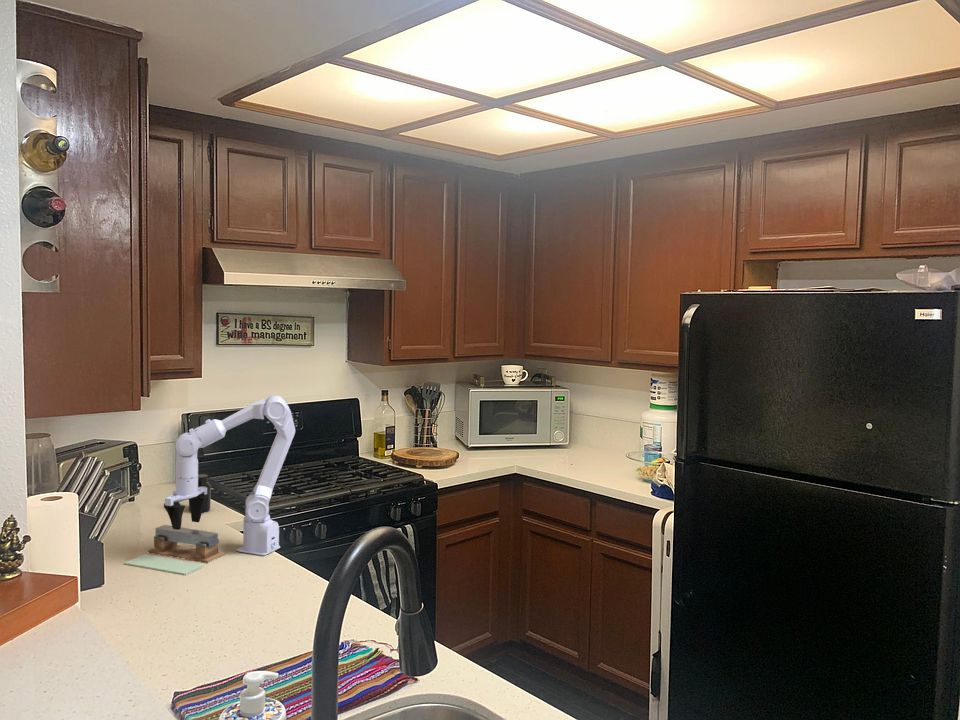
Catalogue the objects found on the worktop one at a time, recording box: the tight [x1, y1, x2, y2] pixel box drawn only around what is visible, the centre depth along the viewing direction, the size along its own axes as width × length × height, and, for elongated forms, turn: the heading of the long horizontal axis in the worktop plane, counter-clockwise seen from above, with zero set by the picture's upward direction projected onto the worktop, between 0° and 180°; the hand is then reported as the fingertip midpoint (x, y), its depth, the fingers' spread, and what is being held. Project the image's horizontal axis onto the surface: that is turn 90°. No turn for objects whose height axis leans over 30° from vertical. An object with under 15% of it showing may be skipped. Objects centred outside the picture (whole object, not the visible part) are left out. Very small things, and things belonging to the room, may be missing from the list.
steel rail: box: [154, 524, 219, 547], centre depth 202 cm, size 18×4×3 cm, turn 72°
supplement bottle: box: [188, 473, 212, 514], centre depth 244 cm, size 7×7×12 cm
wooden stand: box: [147, 535, 226, 564], centre depth 202 cm, size 20×7×5 cm, turn 72°
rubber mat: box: [123, 554, 205, 576], centre depth 193 cm, size 20×7×1 cm, turn 72°
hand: (186, 525), depth 202 cm, fingers open, 7 cm apart
